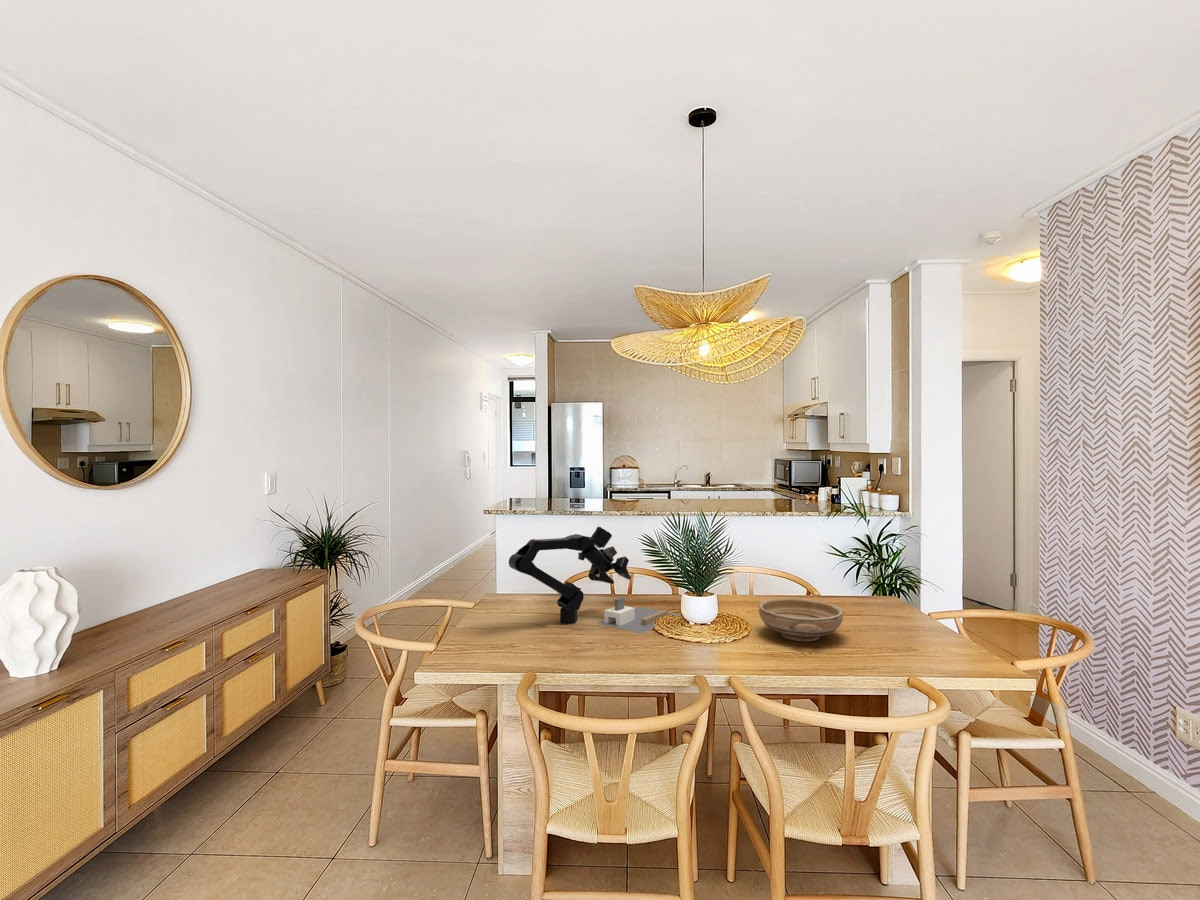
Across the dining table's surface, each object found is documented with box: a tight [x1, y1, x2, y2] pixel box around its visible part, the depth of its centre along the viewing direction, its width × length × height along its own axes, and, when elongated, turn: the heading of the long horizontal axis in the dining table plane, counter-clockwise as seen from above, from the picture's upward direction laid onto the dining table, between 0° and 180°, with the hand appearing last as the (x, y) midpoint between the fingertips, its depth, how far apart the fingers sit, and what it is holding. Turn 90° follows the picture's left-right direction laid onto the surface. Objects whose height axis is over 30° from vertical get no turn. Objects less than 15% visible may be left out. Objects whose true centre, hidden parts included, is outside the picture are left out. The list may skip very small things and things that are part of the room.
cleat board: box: [596, 606, 682, 634], centre depth 234 cm, size 30×20×3 cm, turn 144°
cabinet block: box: [603, 596, 636, 626], centre depth 232 cm, size 10×7×8 cm
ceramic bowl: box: [758, 597, 844, 642], centre depth 216 cm, size 37×29×10 cm
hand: (621, 580), depth 243 cm, fingers open, 9 cm apart
